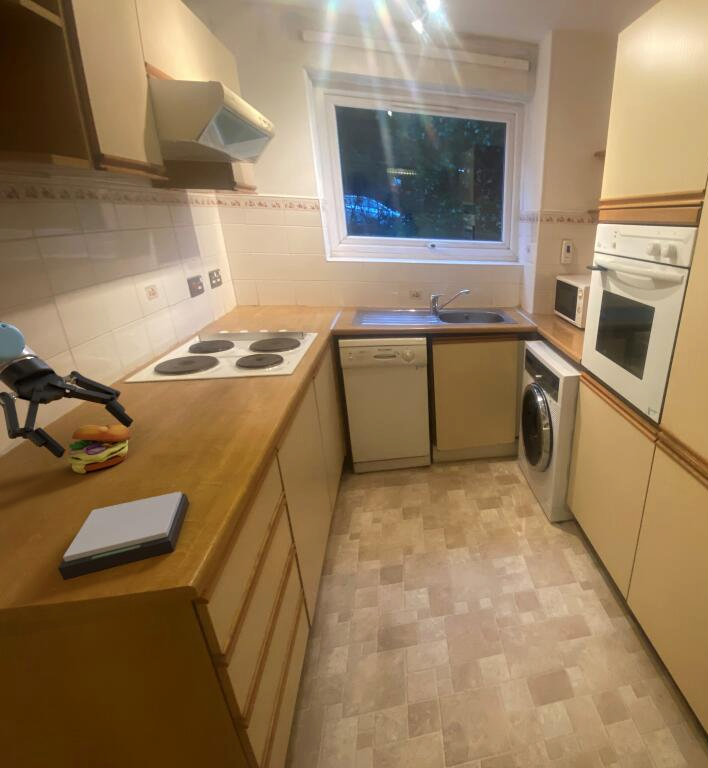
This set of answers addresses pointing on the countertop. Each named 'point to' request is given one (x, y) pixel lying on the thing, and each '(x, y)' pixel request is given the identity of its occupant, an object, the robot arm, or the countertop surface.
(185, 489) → the countertop surface
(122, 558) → the kitchen scale
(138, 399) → the countertop surface
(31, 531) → the countertop surface
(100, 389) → the robot arm
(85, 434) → the cheeseburger
